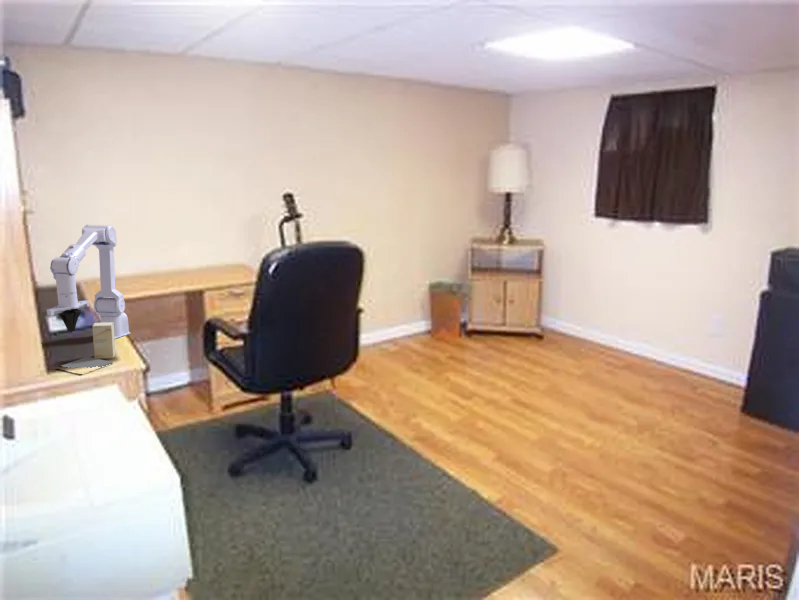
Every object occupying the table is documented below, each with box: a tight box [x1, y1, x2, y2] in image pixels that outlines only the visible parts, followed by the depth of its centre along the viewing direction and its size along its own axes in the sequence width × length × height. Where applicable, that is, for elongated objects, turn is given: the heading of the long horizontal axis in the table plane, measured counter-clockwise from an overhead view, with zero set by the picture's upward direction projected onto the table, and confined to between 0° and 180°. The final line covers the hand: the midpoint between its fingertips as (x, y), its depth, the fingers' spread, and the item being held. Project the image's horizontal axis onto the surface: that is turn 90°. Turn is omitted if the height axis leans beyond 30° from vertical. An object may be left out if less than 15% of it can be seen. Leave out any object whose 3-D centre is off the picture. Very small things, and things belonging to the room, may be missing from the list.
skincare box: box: [91, 322, 116, 360], centre depth 200 cm, size 6×4×12 cm
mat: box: [61, 356, 114, 368], centre depth 192 cm, size 12×12×1 cm
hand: (71, 330), depth 196 cm, fingers closed
